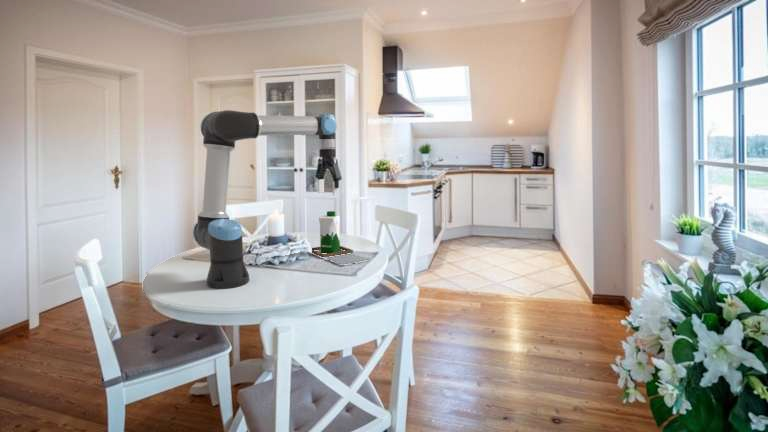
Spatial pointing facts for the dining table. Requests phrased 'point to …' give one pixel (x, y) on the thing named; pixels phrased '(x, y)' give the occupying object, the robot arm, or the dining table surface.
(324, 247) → the soya milk
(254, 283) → the dining table surface
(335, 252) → the walnut collar
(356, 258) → the grey mat
